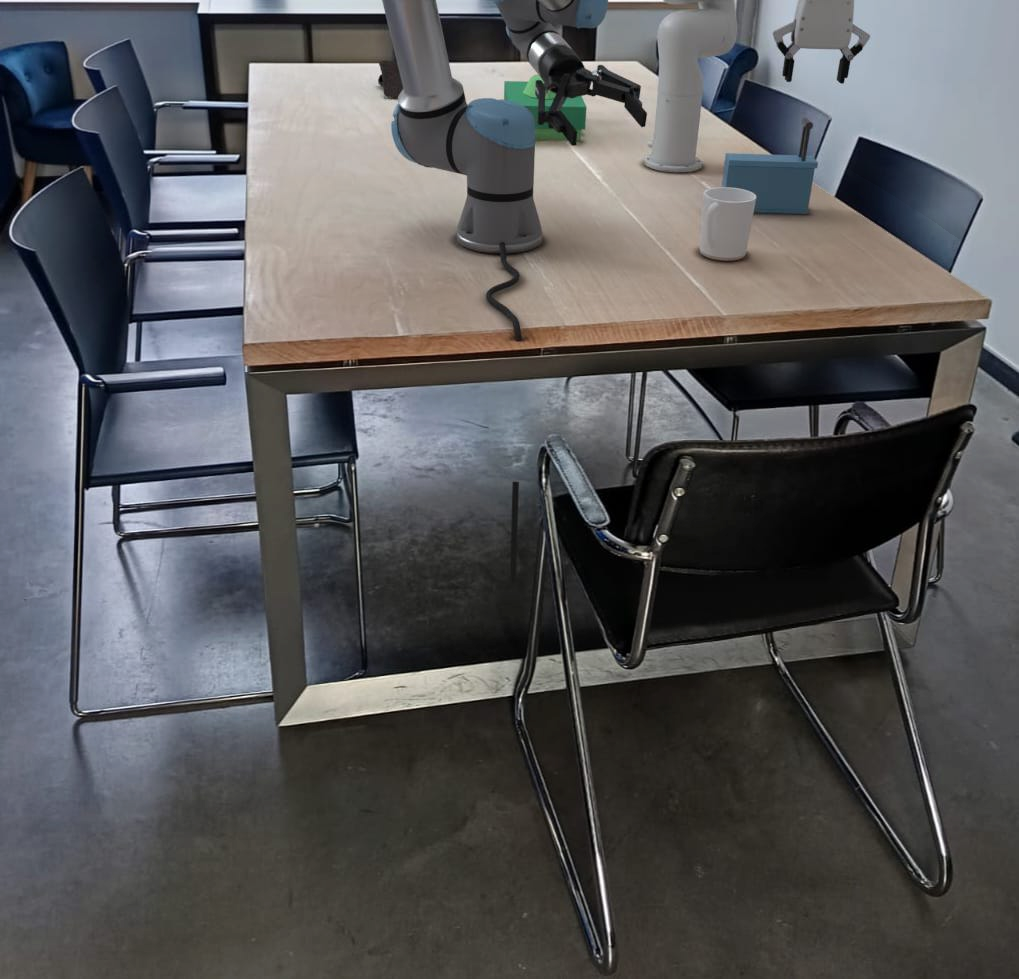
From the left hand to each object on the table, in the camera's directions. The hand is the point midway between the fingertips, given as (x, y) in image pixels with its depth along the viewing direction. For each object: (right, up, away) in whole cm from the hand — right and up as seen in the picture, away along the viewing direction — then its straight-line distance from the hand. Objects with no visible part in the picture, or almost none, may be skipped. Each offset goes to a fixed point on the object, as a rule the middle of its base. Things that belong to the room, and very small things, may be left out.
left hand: (610, 129), depth 190 cm
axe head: (-47, +47, +111) cm, 129 cm away
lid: (+33, 0, +21) cm, 39 cm away
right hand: (+39, +13, +13) cm, 43 cm away
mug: (+19, -21, +2) cm, 29 cm away
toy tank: (-10, +27, +79) cm, 84 cm away
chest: (+32, -7, +25) cm, 42 cm away
